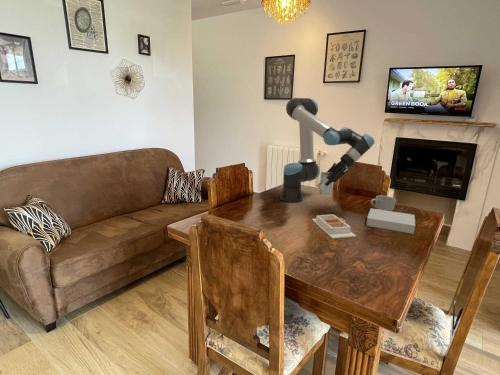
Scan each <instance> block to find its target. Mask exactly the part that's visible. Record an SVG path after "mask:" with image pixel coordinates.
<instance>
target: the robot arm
mask: <svg viewBox="0 0 500 375" xmlns="http://www.w3.org/2000/svg"><path fill="white" fill-rule="evenodd" d="M285 111H286V114H287V115H288V116H289V117H290V118H291V119H292V120H294V121H297V123H298V125H299V147H300V149H299V153H300V157H299V158H300V159H299V160H298V162H291V163H290V162H289V163H287V164H285V166H284V167H283V182H282V189H281V192H280V195H279V199H280V200H281V201H282V200H283V202H286V201H287V203H300V202H302V201H304V194H303V191H302V183H304V182H311V181H314V180H316V179H317V178H318V177H319V176H320V174H321V172H320V171H321V169H320V166H319V165H318V163H317V160H316V159H315V158H314V133H315V134H317V135H318V136H320V138H322V140H323V141H324V144H326V145H327V146H337V145H346V144H347V145H349V146H350V147H349V149H348V150H347V151H346V152H345V153H343V155H342V156H341V157H340V161H338V162H337V163H336V162H334V163H333V164H332V166H330V168H329V169H328V170H327V171H326V172H332V173H334V174H333V175H332V176H331V177H330V178H328V179H327V180H326V181H325V182H324V183H323V184H322V185H321V186H320V181H319V182H318V183H317V184H316V187H317V188H318V189H319V190H320V189H321V190H322V191H323V190H324V189H325V188H326V187H327V186H328V185H329V184H330V183H331V182H333V184H334V183H336V182H338V181H339V180H340V178H341V177H343V176H344V175H346V173H348V172H349V169H348V168H351V167H352V166H354V164H355V163H356V162H357V161H359V160H360V158H362V157H363V155H365V153H367V152H368V150H370V149H371V148H372V146H374V144H375V139H374V138H373V136H371V135H370V134H367V133H364V134H363V135H360V134H358V133H357V132H355V131H354V130H352V129H351V128H349V127H346V126H344V127H343V128H340V130H337V129H336V128H333V127H332V126H331V125H329V124H327V123H326V122H325V121H323V120H322V119H320V118H318V116H316V115H317V113H319V105H318V103H317V101H316V100H314V98H309V97H293V98H291V99H290V100H289V101H288V102H287V104H286V106H285Z"/></svg>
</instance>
